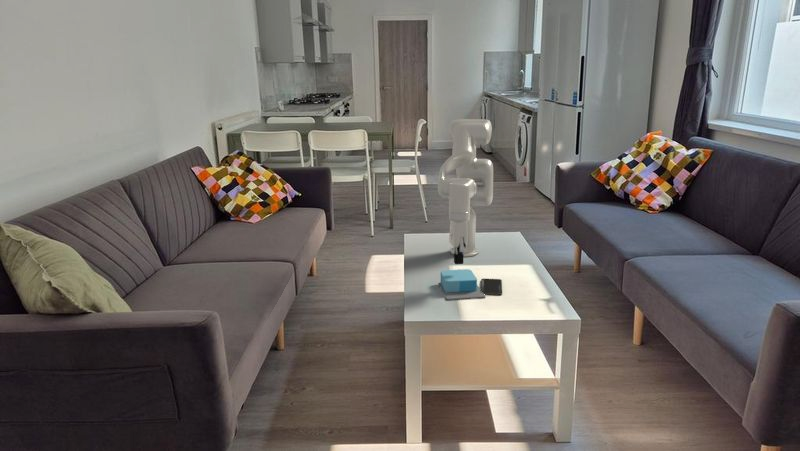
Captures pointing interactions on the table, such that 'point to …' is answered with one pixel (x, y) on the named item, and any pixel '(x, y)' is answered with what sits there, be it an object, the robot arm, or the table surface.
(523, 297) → the table surface
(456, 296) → the mat
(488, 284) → the phone
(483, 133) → the robot arm
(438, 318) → the table surface
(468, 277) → the data package
